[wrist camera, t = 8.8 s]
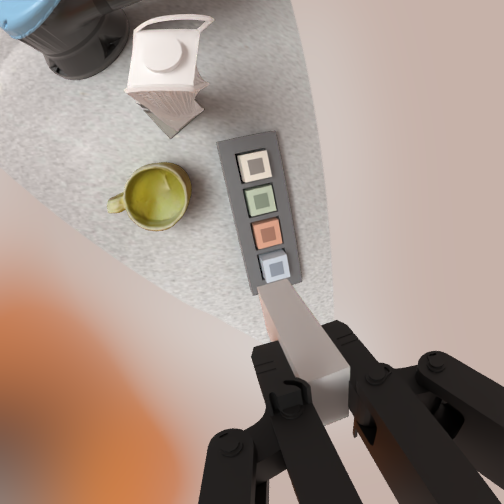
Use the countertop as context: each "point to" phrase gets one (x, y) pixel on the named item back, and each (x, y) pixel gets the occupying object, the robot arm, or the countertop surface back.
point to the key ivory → (254, 166)
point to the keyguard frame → (243, 220)
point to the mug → (154, 196)
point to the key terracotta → (266, 232)
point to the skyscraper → (167, 72)
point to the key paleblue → (274, 265)
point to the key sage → (259, 199)
